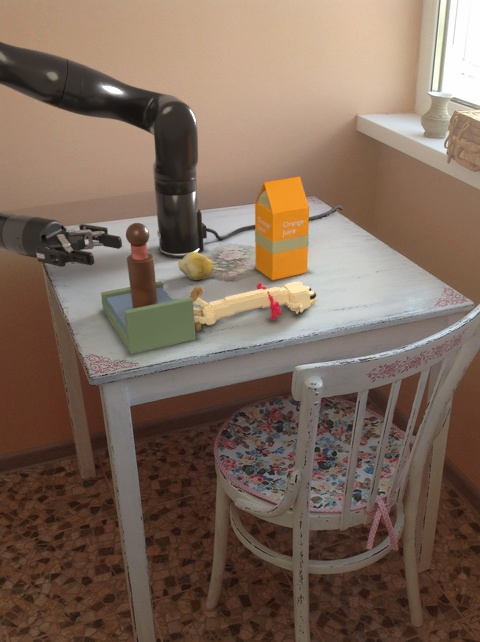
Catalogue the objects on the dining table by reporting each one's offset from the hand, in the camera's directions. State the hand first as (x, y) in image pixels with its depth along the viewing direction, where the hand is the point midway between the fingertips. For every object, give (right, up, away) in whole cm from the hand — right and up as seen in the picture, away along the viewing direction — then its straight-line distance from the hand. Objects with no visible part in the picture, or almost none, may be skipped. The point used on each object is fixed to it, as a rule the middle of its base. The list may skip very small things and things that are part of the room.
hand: (107, 250), depth 126 cm
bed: (+6, -13, +5) cm, 15 cm away
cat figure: (+26, -11, +9) cm, 30 cm away
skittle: (+6, -10, +3) cm, 12 cm away
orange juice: (+31, +1, +27) cm, 41 cm away
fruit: (+14, -1, +24) cm, 28 cm away
